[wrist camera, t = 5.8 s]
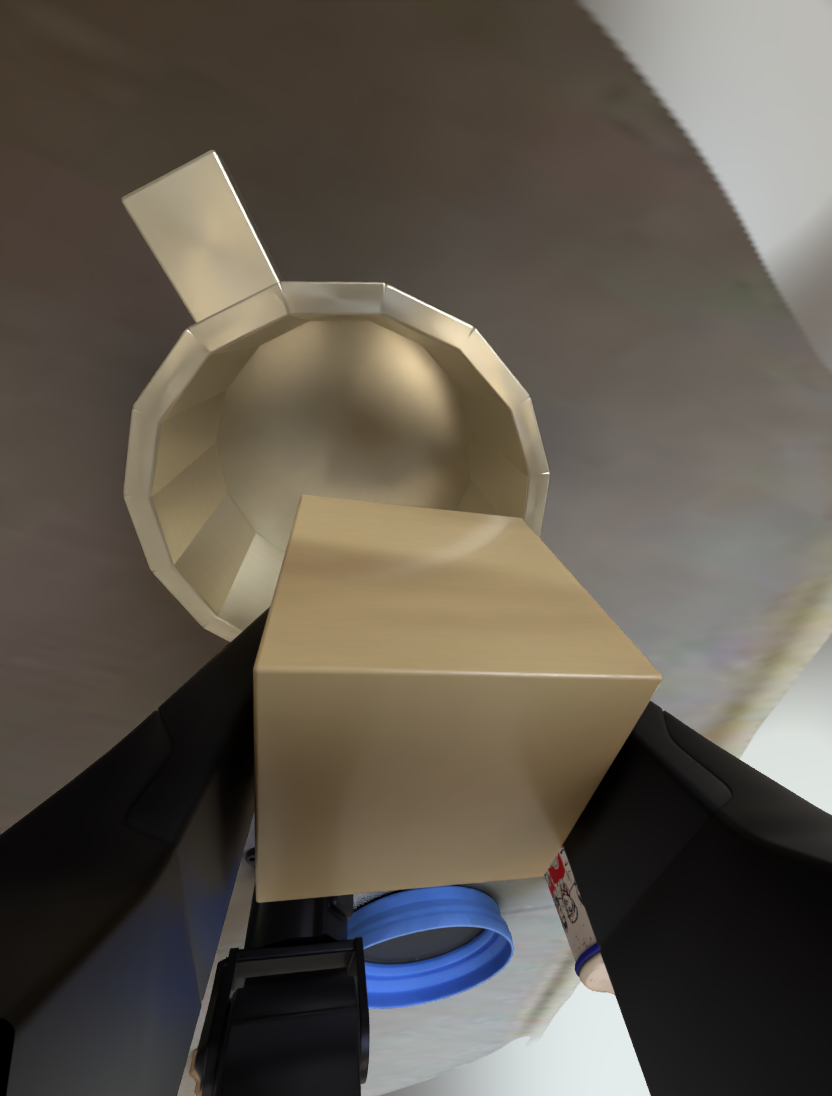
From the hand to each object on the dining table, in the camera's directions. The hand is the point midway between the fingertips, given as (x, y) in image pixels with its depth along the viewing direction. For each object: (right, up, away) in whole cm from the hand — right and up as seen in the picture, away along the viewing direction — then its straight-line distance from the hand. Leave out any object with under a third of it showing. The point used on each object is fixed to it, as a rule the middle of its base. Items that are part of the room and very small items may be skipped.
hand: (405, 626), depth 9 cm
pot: (-3, +6, +9) cm, 11 cm away
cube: (0, +1, +1) cm, 1 cm away
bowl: (0, -37, +33) cm, 49 cm away
